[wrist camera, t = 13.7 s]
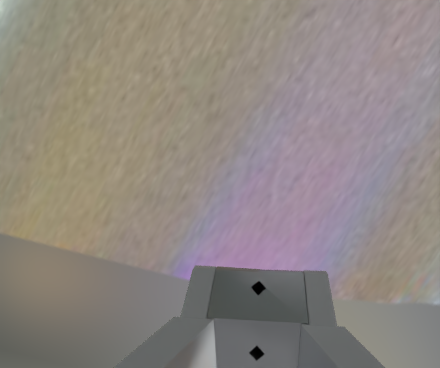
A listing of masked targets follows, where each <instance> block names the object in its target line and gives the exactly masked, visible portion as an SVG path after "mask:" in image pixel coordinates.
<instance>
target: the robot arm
mask: <svg viewBox="0 0 440 368" xmlns="http://www.w3.org/2000/svg"><path fill="white" fill-rule="evenodd" d="M113 368H385V367H384V366H383V365H382V364H381V363H380V362H379V361H378V360H377V359H376V358H375V357H374V356H373V355H372V354H371V353H370V352H369V351H368V350H367V349H366V348H365V347H364V346H363V345H362V344H361V343H360V342H359V341H358V340H357V339H356V338H355V337H354V336H353V335H352V334H351V333H350V332H349V331H348V330H347V329H346V328H345V327H339V326H337V323H336V318H335V312H334V306H333V301H332V295H331V289H330V284H329V278H328V274H327V272H326V271H288V270H261V269H247V268H232V267H212V266H195V267H194V269H193V271H192V274H191V278H190V282H189V286H188V290H187V294H186V298H185V301H184V305H183V309H182V313H181V317H173V318H172V319H171V320H170V321H169V322H167V323H166V324H165V325H164V326H162V327H161V328H160V329H159V330H158V331H156V332H155V333H154V334H153V335H152V336H151V337H149V338H148V339H147V340H146V341H145V342H143V343H142V344H141V345H140V346H139V347H137V348H136V349H135V350H134V351H133V352H131V353H130V354H129V355H128V356H127V357H125V358H124V359H123V360H122V361H121V362H120V363H118V364H117V365H116V366H115V367H113Z"/></svg>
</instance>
